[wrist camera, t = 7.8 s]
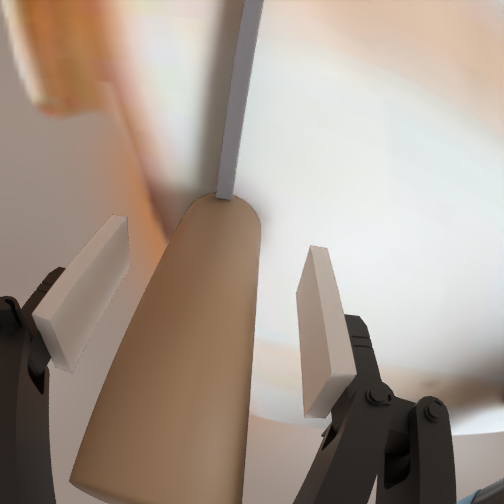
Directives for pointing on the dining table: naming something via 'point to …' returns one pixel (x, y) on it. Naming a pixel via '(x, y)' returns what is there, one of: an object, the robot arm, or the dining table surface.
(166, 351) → the tethered block
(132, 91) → the dining table surface
